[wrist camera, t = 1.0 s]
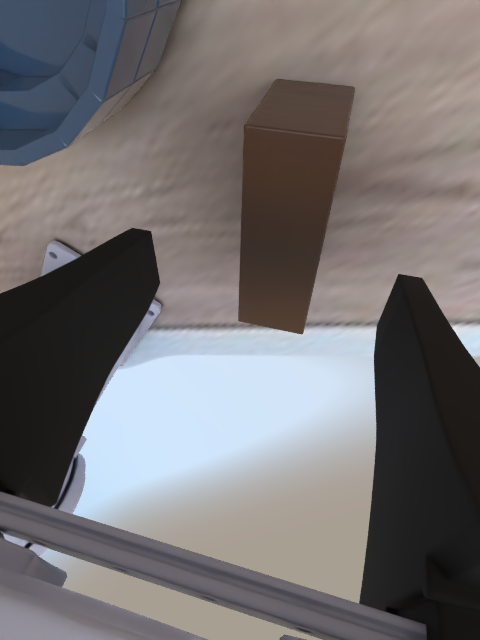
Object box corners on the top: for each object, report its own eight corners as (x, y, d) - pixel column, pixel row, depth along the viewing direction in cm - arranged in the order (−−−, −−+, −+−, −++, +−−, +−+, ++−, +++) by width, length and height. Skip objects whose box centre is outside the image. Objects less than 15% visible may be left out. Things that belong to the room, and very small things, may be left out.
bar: (316, 267, 20) (302, 335, 17) (261, 257, 21) (237, 321, 17) (355, 86, 14) (346, 137, 11) (275, 78, 15) (243, 124, 11)
